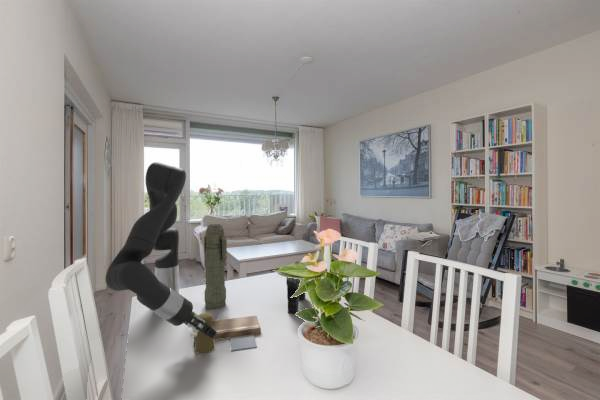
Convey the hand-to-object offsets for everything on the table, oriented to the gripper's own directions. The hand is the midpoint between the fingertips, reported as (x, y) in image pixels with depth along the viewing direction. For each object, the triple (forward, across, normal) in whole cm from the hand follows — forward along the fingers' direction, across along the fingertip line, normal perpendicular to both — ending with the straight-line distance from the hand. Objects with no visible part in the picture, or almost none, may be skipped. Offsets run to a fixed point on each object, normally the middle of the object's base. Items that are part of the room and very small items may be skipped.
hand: (210, 332), depth 94 cm
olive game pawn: (+2, 0, +5) cm, 5 cm away
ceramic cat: (+33, +2, -26) cm, 42 cm away
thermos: (+16, +27, -9) cm, 33 cm away
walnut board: (+10, +4, -3) cm, 11 cm away
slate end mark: (+9, -6, -3) cm, 11 cm away
